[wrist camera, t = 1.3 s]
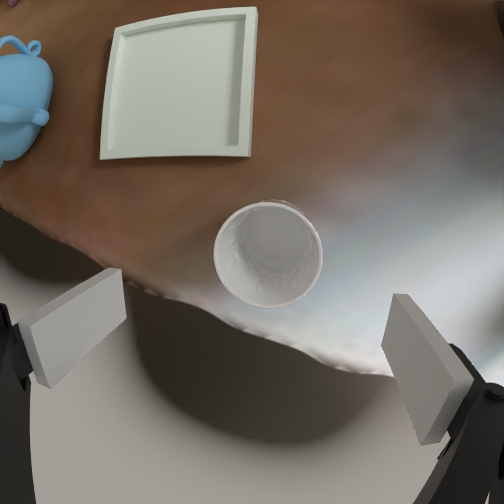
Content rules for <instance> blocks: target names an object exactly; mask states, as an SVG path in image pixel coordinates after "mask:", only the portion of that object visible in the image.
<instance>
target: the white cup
mask: <svg viewBox="0 0 504 504" xmlns="http://www.w3.org/2000/svg"><path fill="white" fill-rule="evenodd" d="M322 263H323V250H322V245H321V241H320V238H319V236H318V233H317V232H316V230H315V228H314V227H313V225H312V224H311V222H310V221H309V219H308V218H307V216H306V215H305V214H304V213H303V212H302V211H301V210H300V209H299V208H298V207H296V206H295V205H293V204H292V203H289V202H286V201H283V200H278V199H276V200H264V201H260V202H257V203H254V204H251V205H248V206H246V207H243V208H241V209H240V210H238V211H236V212H235V213H234V214H232V215H231V216H230V217H229V218H228V219H227V220H226V221H225V223H224V224H223V225H222V227H221V228H220V230H219V232H218V234H217V237H216V240H215V244H214V264H215V268H216V271H217V274H218V276H219V278H220V280H221V282H222V283H223V285H224V286H225V287H226V289H227V290H228V291H229V292H230V293H231V294H232V295H233V296H235V297H236V298H237V299H239V300H241V301H242V302H244V303H246V304H249V305H252V306H255V307H259V308H280V307H284V306H287V305H290V304H292V303H294V302H296V301H298V300H300V299H301V298H302V297H304V296H305V295H306V294H307V293H308V292H309V291H310V290H311V289H312V287H313V286H314V285H315V283H316V281H317V279H318V277H319V275H320V272H321V268H322Z"/></svg>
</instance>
